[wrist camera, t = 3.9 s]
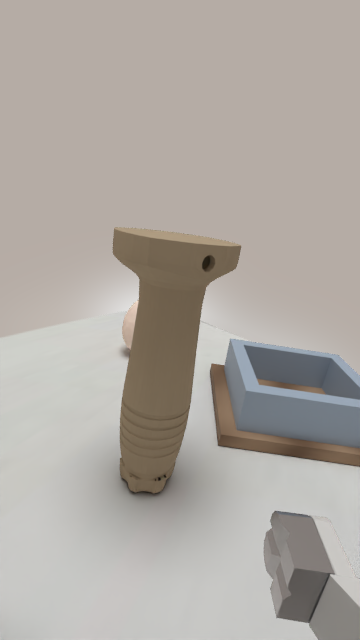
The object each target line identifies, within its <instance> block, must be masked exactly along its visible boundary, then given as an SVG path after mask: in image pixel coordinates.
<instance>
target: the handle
mask: <svg viewBox="0 0 360 640" xmlns="http://www.w3.org/2000/svg"><path fill="white" fill-rule="evenodd" d="M240 250H241V245H238V244H235V243H231V242H228V241H223V240H219V239H214V238H208V237H203V236H196V235H189V234H182V233H174V232H166V231H157V230H148V229H137V228H118V227H115V228H114V238H113V254H114V256H115V257H116V258H117V259H118V260H119V261H120V262H121V263H123V264H124V265H125V266H127V267H128V268H129V269H131V270H132V271H133V272H134V273H136V274H137V276H138V277H139V279H140V282H139V285H140V286H139V301H138V308H137V314H136V320H135V327H134V333H133V339H132V345H131V351H130V356H129V362H128V367H127V373H126V379H125V384H124V390H123V397H122V406H121V417H120V448H121V456H122V458H120V474H121V477H122V478H123V479H125V480H126V481H127V482H128V488H129V489H130V490H131V491H133V492H135V493H136V492H140V491H147V492H152V493H153V494H154V493H158V492H160V491H162V490H163V488H164V486H165V483H166V479H168V478H169V477H170V476H171V474H172V472H173V469H174V466H175V460H176V458H177V455H178V453H179V450H180V447H181V444H182V440H183V436H184V432H185V429H186V424H187V420H188V413H189V409H190V403H191V394H192V385H193V376H194V367H195V357H196V349H197V341H198V333H199V325H200V317H201V309H202V303H203V299H204V295H205V290H206V287H207V285H209V283H210V282H212V281H214V280H215V279H217V278H219V277H221V276H223V275H225V274H227V273H229V272H230V271H233V270H234V269H235V268H236V267H237V264H238V260H239V255H240Z"/></svg>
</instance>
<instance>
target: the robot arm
mask: <svg viewBox="0 0 360 640" xmlns="http://www.w3.org/2000/svg"><path fill="white" fill-rule="evenodd" d="M270 522H271V526H272V529H270V530H269V531H267V532H266V536H265V540H264V561H265V566H266V571H267V572H268V574H269V575H270V576H271V577H272V579H273V582H272V585H271V588H270V590H271V595H272V600H273V604H274V609H275V613H276V618H281V619H287V620H293V621H299V622H305V623H310V624H309V626H310V628H311V629H312V631H313V632H314V634H315V635H316V637H317V638H318V640H360V578H357V577H356V575H355V573H354V571H353V569H352V567H351V564H350V562H349V560H348V558H347V556H346V554H345V551H344V549H343V547H342V545H341V543H340V541H339V539H338V536H337V534H336V532H335V530H334V528H333V526H332V523H331V521H330V520H329V519H328V518H325V517H317V516H308V515H303V514H296V513H288V512H280V511H274V513H273V514H272V517H271V520H270Z"/></svg>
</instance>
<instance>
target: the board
mask: <svg viewBox="0 0 360 640" xmlns="http://www.w3.org/2000/svg"><path fill="white" fill-rule="evenodd" d="M210 376H211V385H212V394H213V402H214V411H215V420H216V429H217V438H218V445H219V446H226V447H233V448H240V449H247V450H253V451H260V452H267V453H274V454H281V455H287V456H294V457H301V458H308V459H315V460H322V461H328V462H335V463H342V464H349V465H356V466H360V448H354V447H348V446H341V445H334V444H327V443H320V442H314V441H307V440H300V439H293V438H287V437H280V436H273V435H266V434H259V433H253V432H246V431H239V430H236V425H235V420H234V415H233V410H232V405H231V400H230V395H229V391H228V386H227V381H226V376H225V371H224V365H218V364H211V369H210ZM257 381H258V383H259V385H264V386H270V387H277V388H284V389H291V390H297V391H304V392H311V393H317V394H324V395H326V394H325V392H324V391H323V389H322V388H316V387H309V386H303V385H296V384H289V383H282V382H276V381H269V380H262V379H257Z"/></svg>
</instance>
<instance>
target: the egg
mask: <svg viewBox="0 0 360 640" xmlns="http://www.w3.org/2000/svg"><path fill="white" fill-rule="evenodd" d="M138 301H139V300H138ZM138 301H137V302H135V303H134V304H133V305H132V306H131V308H130V309H129V310H128V312H127V314H126V316H125V318H124V322H123V327H122V334H123V339H124V341H125V343H126V345H127V347H128V348H129V349H130V350H131V345H132V339H133V333H134V327H135V320H136V314H137V308H138Z"/></svg>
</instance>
